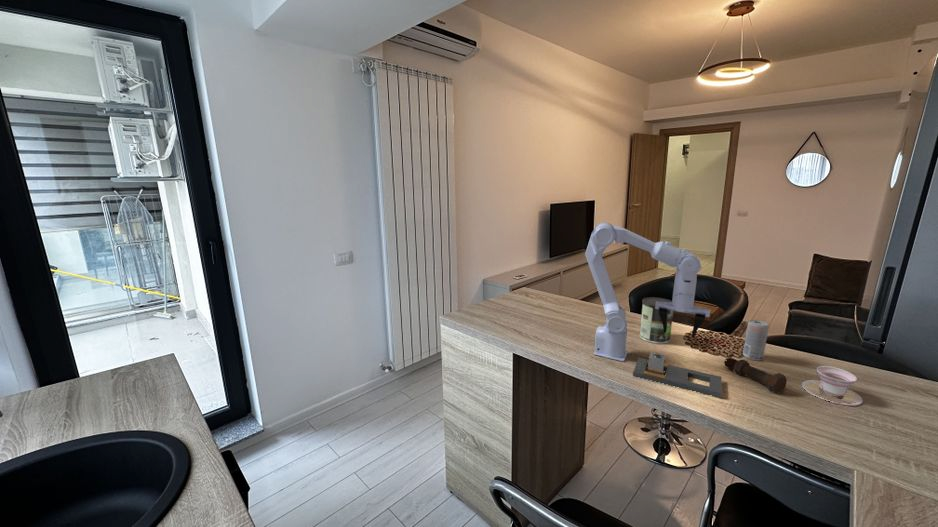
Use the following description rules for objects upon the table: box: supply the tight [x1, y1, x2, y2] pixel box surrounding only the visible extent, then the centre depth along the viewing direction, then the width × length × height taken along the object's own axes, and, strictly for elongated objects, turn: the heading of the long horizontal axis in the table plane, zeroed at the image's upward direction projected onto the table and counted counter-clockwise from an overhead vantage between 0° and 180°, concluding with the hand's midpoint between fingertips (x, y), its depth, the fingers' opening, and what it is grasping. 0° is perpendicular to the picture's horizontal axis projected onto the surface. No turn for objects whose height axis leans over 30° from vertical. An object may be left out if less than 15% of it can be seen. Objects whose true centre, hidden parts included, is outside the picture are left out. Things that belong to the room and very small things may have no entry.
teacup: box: [801, 365, 863, 407], centre depth 100 cm, size 12×12×6 cm
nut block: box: [647, 351, 666, 375], centre depth 111 cm, size 4×4×6 cm
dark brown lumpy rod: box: [723, 357, 788, 394], centre depth 108 cm, size 6×5×15 cm
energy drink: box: [742, 319, 770, 362], centre depth 120 cm, size 5×5×12 cm
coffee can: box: [639, 296, 674, 345], centre depth 135 cm, size 10×10×14 cm
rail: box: [632, 357, 723, 399], centre depth 109 cm, size 22×10×2 cm, turn 57°
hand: (678, 333), depth 116 cm, fingers open, 7 cm apart
